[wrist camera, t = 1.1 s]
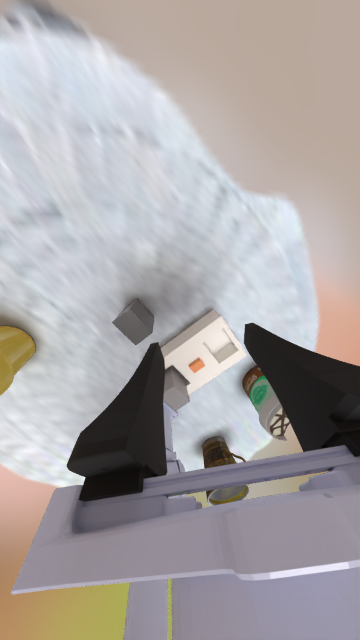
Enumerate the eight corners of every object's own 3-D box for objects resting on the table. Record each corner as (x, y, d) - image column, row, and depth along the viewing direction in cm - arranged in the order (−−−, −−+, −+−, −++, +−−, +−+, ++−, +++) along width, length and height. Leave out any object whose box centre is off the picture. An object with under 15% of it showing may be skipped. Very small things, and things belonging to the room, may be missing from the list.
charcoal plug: (172, 380, 30) (175, 410, 24) (158, 367, 29) (158, 396, 22) (183, 372, 30) (189, 401, 24) (170, 359, 29) (173, 386, 22)
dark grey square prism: (141, 326, 27) (135, 345, 20) (124, 308, 25) (112, 322, 19) (154, 316, 26) (152, 332, 20) (137, 298, 25) (129, 308, 18)
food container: (245, 357, 32) (280, 393, 23) (269, 358, 33) (312, 393, 24) (232, 399, 36) (257, 444, 27) (254, 398, 37) (286, 442, 28)
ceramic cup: (217, 458, 44) (232, 509, 35) (190, 451, 41) (198, 505, 32) (242, 430, 41) (267, 478, 32) (215, 421, 38) (233, 471, 29)
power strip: (174, 388, 32) (176, 407, 28) (144, 360, 29) (141, 376, 25) (236, 344, 31) (249, 357, 26) (212, 309, 27) (223, 317, 23)
